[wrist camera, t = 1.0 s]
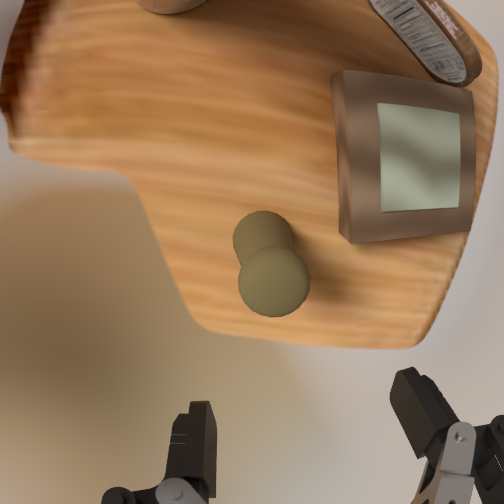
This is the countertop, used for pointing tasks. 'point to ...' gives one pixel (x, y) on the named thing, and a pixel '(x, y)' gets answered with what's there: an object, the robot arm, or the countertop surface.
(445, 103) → the stand
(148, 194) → the countertop surface
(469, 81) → the tin
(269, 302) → the olive pepper mill
